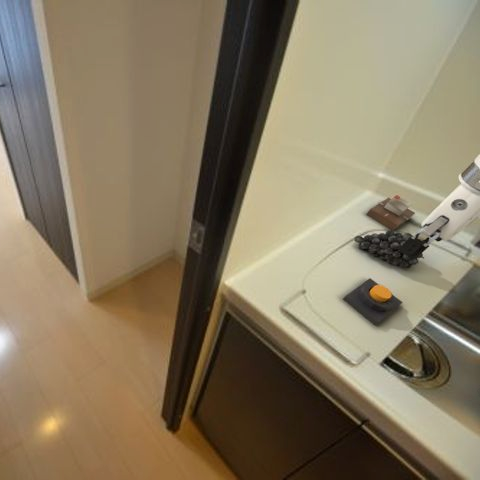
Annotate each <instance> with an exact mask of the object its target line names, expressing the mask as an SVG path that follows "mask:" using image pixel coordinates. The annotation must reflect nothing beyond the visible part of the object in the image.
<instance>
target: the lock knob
mask: <svg viewBox="0 0 480 480" xmlns="http://www.w3.org/2000/svg"><path fill="white" fill-rule="evenodd" d="M390 199H391V200H390V201H389V202H388V203H387V204H386V206H385V207H384V208H386V209H388V210H389V211H391V212H393V213H395V214H396V215H398V216H400V215H402V214H403V213H404V212H405V211H406V210H407V209H409V208H410V206H412V203H411V202H409V201H407V200H405V199H403V198H402V197H401V196H400V195H397V194H396V195H394V196H392V197H391V198H390Z"/></svg>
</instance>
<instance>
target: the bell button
mask: <svg viewBox="0 0 480 480" xmlns="http://www.w3.org/2000/svg"><path fill="white" fill-rule="evenodd" d="M369 293H370V295H371V297H372V298H373V299H375V300H376V301H379V302H386V301H387V300H388V299H389V298H390V297H391V296H392V295H393V293H392V292H391V290H390V289H389V288H388V287H386V286H384V285H381V284H379V285H376V286H374V287H373V288H372V289H371V290H370V292H369ZM391 293H392V294H391Z"/></svg>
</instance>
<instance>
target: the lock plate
mask: <svg viewBox="0 0 480 480" xmlns="http://www.w3.org/2000/svg"><path fill="white" fill-rule="evenodd" d="M390 200H391V198H390V197H387V198H384V200H382V201H378V202H377V204H376V205H375V206H373V207H371V208H370V209H369V210H368V211H367V213H366V214H365V215H366V216H367V217H368V218H370V219H372V220H374V221H375V222H377V223H379V224H380V225H382V226H383V227H385V228H387V230H392V231H395V230H396V229H398V228H399V227H400V226H402V225H404V224H405V223H406V222H407V221H409V220H411V218H412V217H413V216H414V215H415V214H416V212H415V211H413V210H412V209H409V208H408V209H407V210H406V211H405V212H404V213H403V214H402V215H400V216H398V215H396V214H395V213H393V212H391V211H389V210H388V209H386V208H384V207H385V206H386V204H387V203H388V202H389V201H390Z"/></svg>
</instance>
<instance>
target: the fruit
mask: <svg viewBox="0 0 480 480" xmlns="http://www.w3.org/2000/svg"><path fill="white" fill-rule="evenodd" d="M411 236H412V233H410V232H405V233H402V232H395V230H393V231H392V230H390V229H387V231H385V233H384V232H380V233H377V232H376V233H375V232H373V233H372V234H366V235H364V236H361V235H356V236H355V237H354V239H353V240H354V242H355V243H358V245H357V248H358V249H359V250H361V251H364V250H366V251H367V252H369V254H371V255H372V256H373V257H375V258H378V257H379V258H380V260H382V261H385V260H386V262H387V263H389V264H391V265H393V266H400V267H402V268H405V269H410V268H411V267H412V266H414V265H415V266H416V265H418V264H419V259H421V258H422V259H423V260H425V257H424V254H423V253H421V254H420V255H419V256H418V257H417V258H416V259H411V258H410V257H408V256H407V255H405V254H404V253H402V252H401V251H399V248H400V247H401V246H402V245H403V244H404V243H405V242H406V241H407V240H408V239H409V238H410V237H411Z"/></svg>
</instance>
